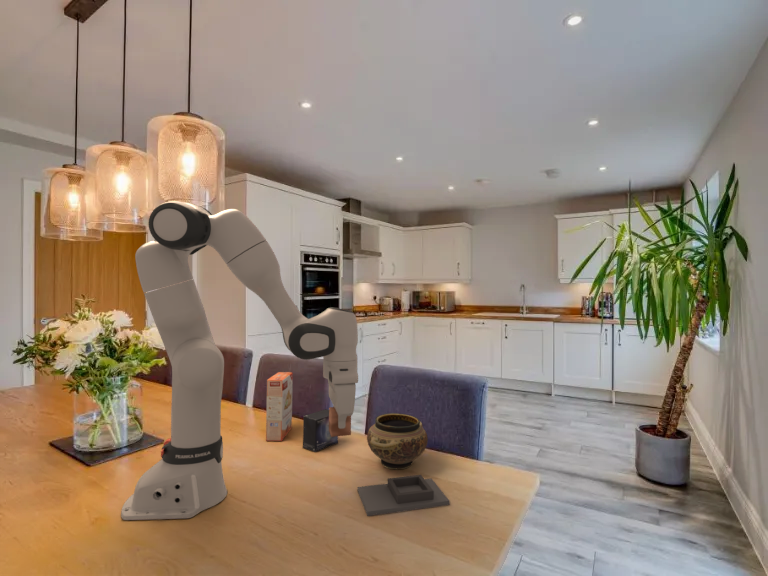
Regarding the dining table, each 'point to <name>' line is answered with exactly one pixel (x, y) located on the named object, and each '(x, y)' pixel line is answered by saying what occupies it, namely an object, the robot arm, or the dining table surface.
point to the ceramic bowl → (397, 439)
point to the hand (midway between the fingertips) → (339, 423)
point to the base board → (401, 495)
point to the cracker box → (279, 406)
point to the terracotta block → (334, 424)
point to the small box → (317, 431)
